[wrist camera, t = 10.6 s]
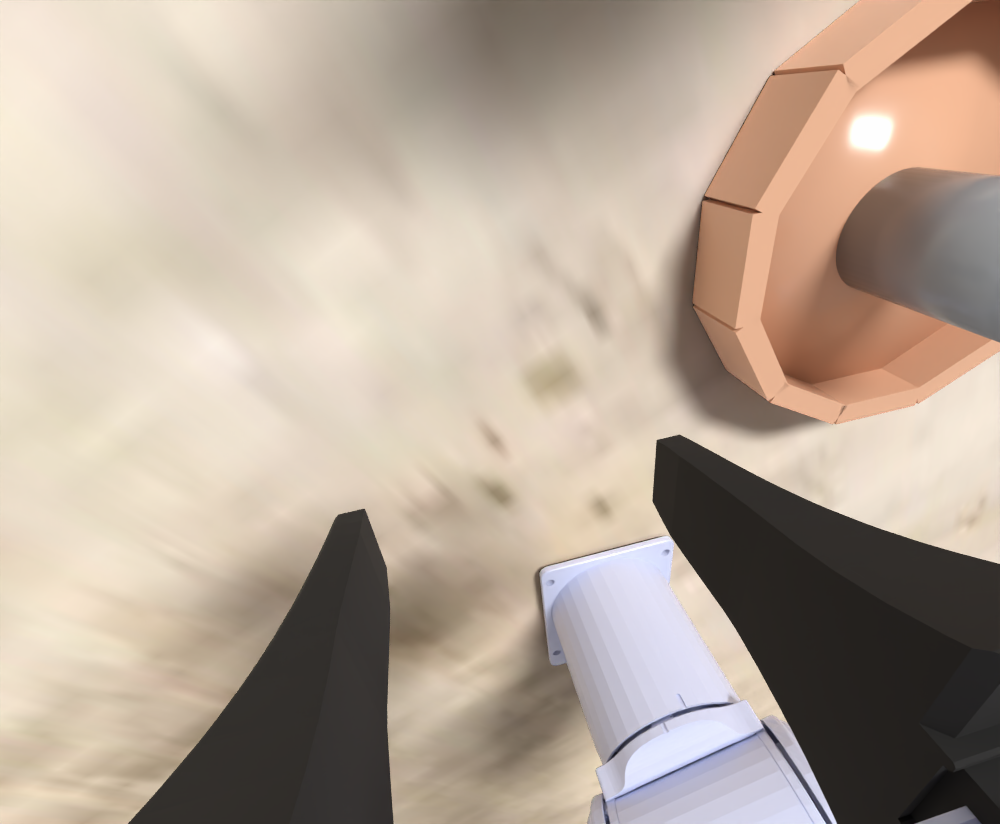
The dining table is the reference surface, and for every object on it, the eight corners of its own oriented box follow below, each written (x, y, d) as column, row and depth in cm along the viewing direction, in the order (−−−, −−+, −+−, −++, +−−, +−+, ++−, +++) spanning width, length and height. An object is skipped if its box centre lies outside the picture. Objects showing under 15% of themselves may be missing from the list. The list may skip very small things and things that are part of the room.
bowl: (960, 353, 26) (1023, 379, 23) (680, 417, 24) (715, 453, 22) (1139, -54, 17) (1268, -82, 15) (722, -1, 15) (789, -22, 13)
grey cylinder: (928, 271, 21) (1096, 319, 16) (828, 304, 21) (967, 363, 16) (960, 151, 19) (1171, 166, 14) (845, 187, 19) (1019, 215, 14)
